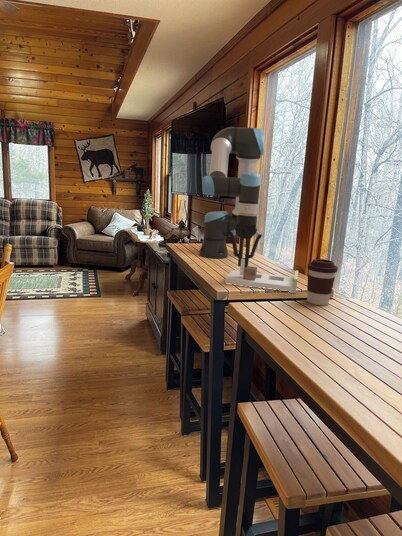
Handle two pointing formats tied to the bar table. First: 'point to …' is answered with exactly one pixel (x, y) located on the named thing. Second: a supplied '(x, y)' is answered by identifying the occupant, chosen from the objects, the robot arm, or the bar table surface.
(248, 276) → the block
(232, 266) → the bar table surface
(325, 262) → the coffee cup
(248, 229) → the robot arm
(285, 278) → the board
